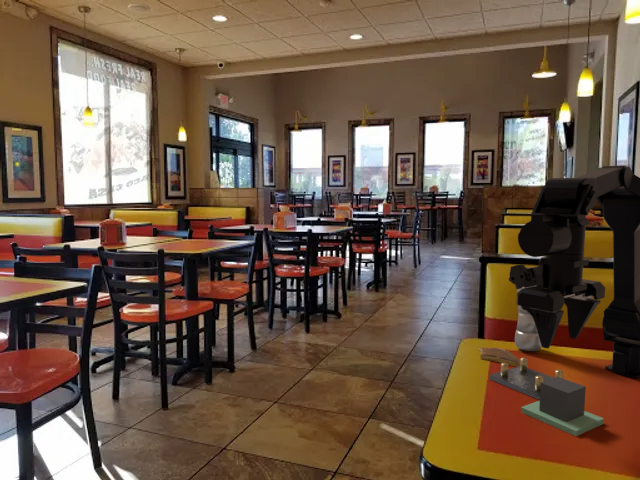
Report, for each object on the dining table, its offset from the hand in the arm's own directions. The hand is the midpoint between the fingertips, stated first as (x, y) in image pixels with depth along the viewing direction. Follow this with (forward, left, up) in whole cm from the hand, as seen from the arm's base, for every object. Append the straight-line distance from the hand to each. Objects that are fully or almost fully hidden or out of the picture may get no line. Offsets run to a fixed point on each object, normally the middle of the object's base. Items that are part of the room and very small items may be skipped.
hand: (559, 342), depth 84 cm
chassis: (-8, -11, -13) cm, 18 cm away
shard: (-16, -24, -14) cm, 31 cm away
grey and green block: (0, +1, -13) cm, 13 cm away
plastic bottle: (-26, -25, -13) cm, 38 cm away
